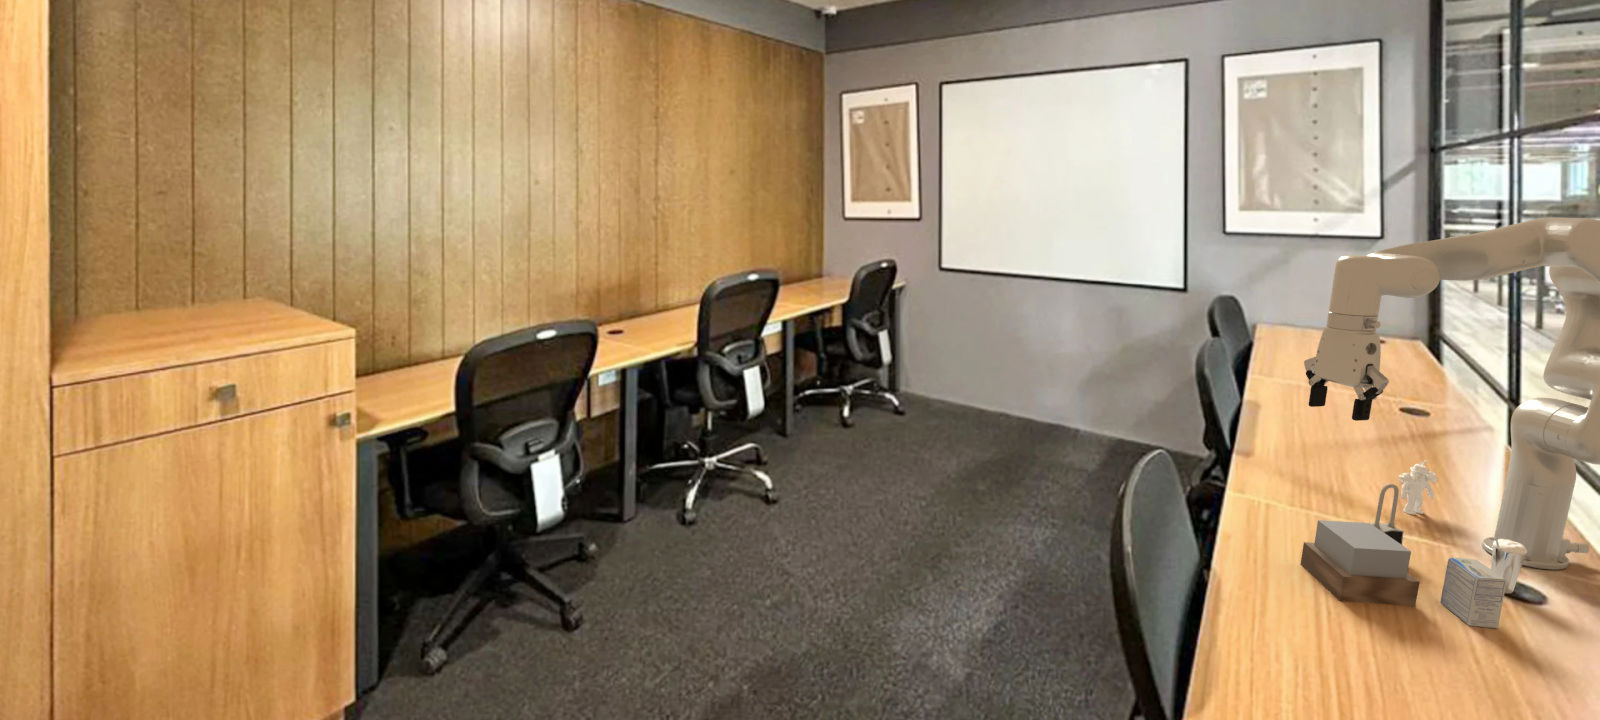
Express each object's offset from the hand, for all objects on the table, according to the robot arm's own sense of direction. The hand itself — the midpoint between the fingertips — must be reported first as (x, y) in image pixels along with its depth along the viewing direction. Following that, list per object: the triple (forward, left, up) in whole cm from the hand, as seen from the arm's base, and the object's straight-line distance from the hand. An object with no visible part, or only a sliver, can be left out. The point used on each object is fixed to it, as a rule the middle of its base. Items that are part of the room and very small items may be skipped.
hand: (1337, 412), depth 148 cm
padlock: (-12, -1, -29) cm, 31 cm away
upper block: (-1, +12, -24) cm, 27 cm away
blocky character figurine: (-33, -27, -29) cm, 52 cm away
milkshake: (-26, +10, -29) cm, 40 cm away
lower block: (-1, +12, -29) cm, 32 cm away
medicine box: (-14, +21, -29) cm, 38 cm away
